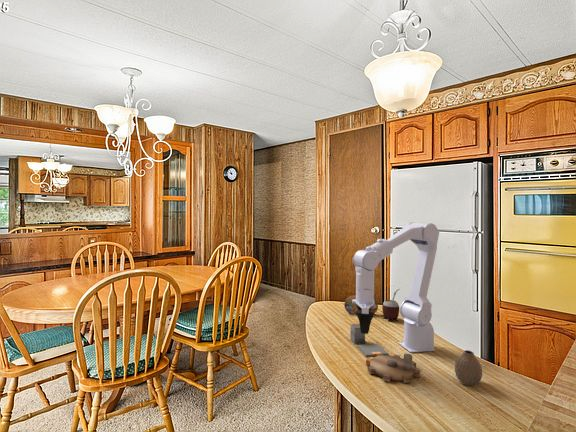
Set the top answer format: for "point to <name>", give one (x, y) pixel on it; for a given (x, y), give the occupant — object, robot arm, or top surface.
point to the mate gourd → (391, 309)
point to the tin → (352, 307)
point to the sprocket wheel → (393, 367)
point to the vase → (468, 369)
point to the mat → (372, 349)
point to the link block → (357, 334)
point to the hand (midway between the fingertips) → (364, 328)
